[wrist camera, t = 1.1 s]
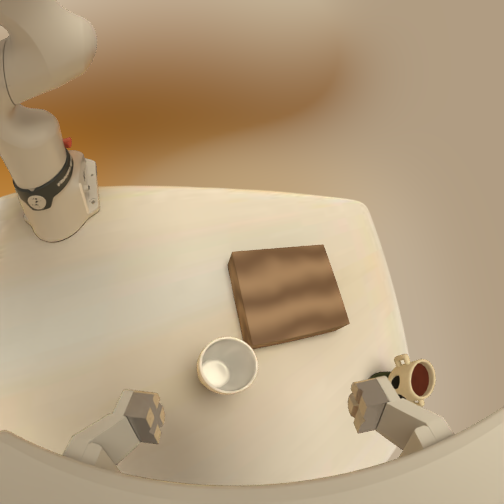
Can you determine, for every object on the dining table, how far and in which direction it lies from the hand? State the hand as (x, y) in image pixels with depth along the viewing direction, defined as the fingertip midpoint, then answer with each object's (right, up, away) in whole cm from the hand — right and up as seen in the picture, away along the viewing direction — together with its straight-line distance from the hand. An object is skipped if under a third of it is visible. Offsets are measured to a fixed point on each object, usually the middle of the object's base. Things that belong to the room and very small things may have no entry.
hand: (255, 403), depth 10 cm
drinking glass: (-6, -13, +32) cm, 35 cm away
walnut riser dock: (+6, -3, +41) cm, 41 cm away
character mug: (+24, -21, +36) cm, 48 cm away
